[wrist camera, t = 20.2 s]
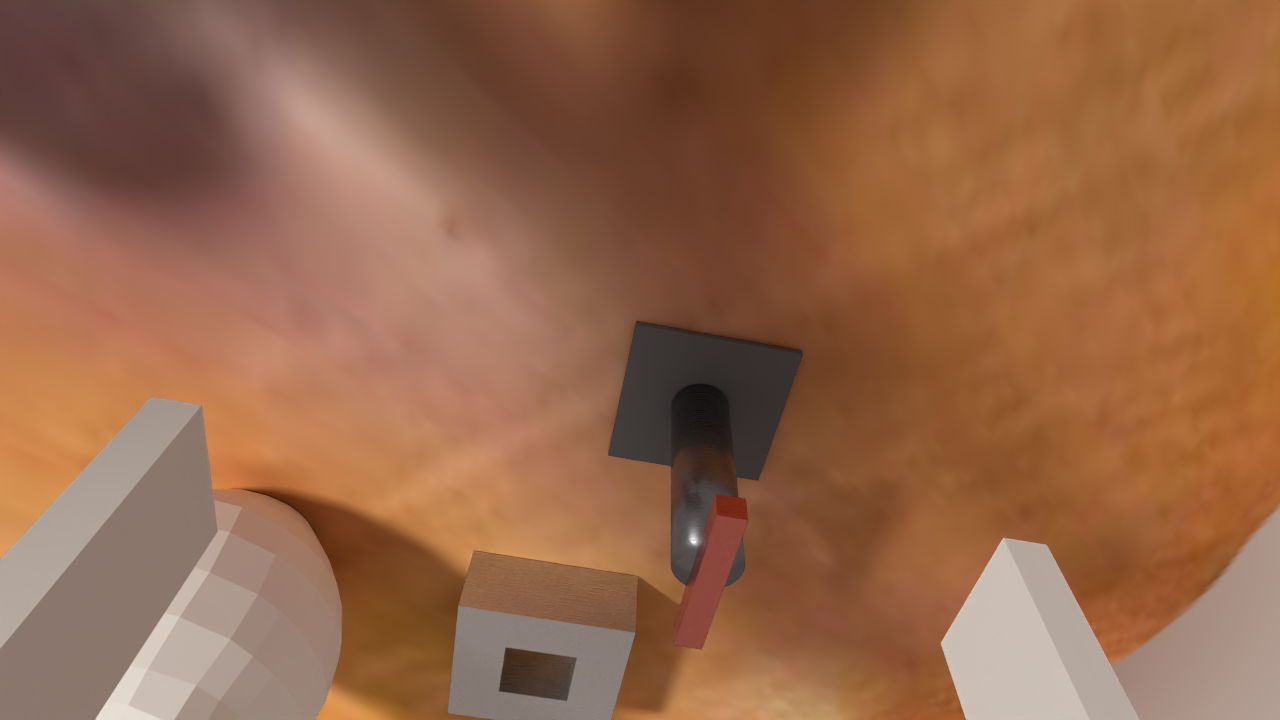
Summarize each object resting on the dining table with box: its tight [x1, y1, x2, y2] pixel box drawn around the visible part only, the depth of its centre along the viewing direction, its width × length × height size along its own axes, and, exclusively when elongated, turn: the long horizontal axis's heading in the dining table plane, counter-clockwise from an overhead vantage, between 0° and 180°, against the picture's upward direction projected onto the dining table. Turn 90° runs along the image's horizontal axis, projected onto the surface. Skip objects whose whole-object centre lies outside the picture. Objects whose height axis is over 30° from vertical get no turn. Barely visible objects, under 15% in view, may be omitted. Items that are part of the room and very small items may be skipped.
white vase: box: [95, 489, 342, 720], centre depth 48 cm, size 19×18×25 cm
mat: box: [608, 321, 802, 480], centre depth 51 cm, size 10×10×1 cm
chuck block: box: [448, 551, 638, 720], centre depth 60 cm, size 12×12×5 cm
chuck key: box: [671, 384, 748, 650], centre depth 45 cm, size 9×4×14 cm, turn 169°
